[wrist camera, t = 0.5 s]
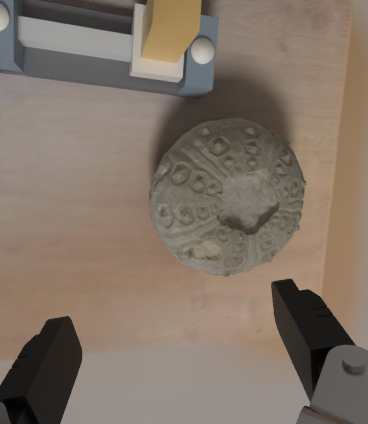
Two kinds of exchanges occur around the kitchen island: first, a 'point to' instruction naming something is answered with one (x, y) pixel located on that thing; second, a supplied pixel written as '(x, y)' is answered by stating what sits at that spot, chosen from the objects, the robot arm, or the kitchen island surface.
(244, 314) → the kitchen island surface
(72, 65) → the rail bed
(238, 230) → the decorative shell
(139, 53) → the carriage
